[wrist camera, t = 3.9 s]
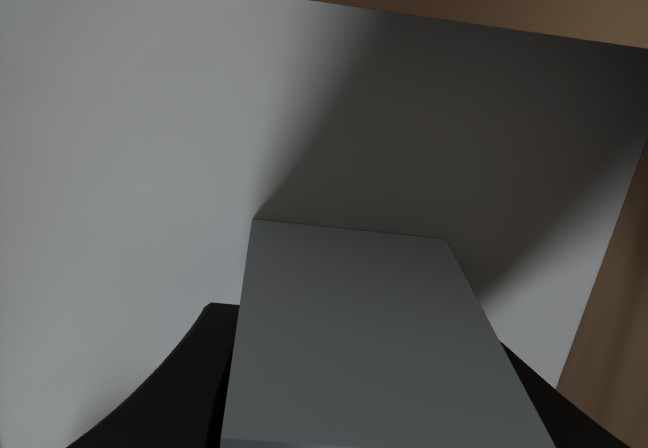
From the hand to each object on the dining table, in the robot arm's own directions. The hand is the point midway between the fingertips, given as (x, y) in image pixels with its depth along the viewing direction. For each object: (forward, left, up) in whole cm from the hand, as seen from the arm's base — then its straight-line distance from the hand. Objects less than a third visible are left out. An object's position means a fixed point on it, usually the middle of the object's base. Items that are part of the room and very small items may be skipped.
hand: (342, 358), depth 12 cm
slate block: (0, 0, -2) cm, 2 cm away
